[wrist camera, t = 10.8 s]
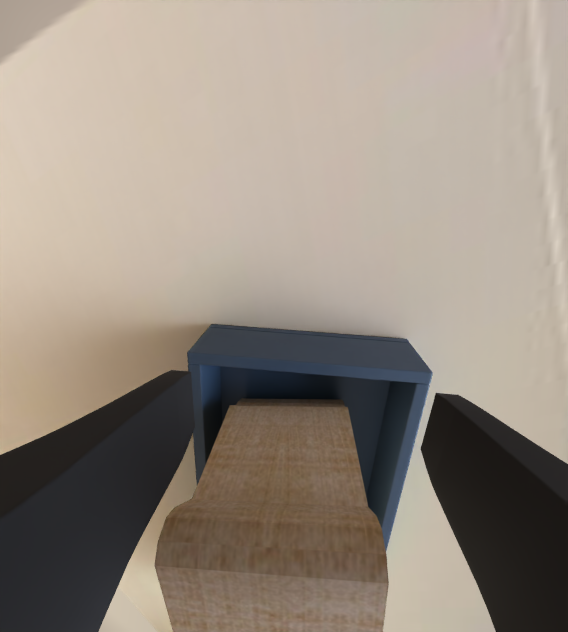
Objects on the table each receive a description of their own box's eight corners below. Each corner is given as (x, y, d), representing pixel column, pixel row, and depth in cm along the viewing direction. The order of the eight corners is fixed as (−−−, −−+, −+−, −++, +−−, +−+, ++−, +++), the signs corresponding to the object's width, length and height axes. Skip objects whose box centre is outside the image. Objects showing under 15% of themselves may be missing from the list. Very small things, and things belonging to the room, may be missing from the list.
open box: (356, 571, 22) (365, 633, 19) (220, 554, 23) (206, 612, 20) (407, 338, 15) (433, 372, 12) (211, 323, 16) (186, 352, 13)
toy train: (261, 557, 22) (226, 818, 12) (240, 356, 16) (146, 560, 7) (335, 561, 21) (357, 837, 12) (341, 356, 16) (392, 576, 6)
